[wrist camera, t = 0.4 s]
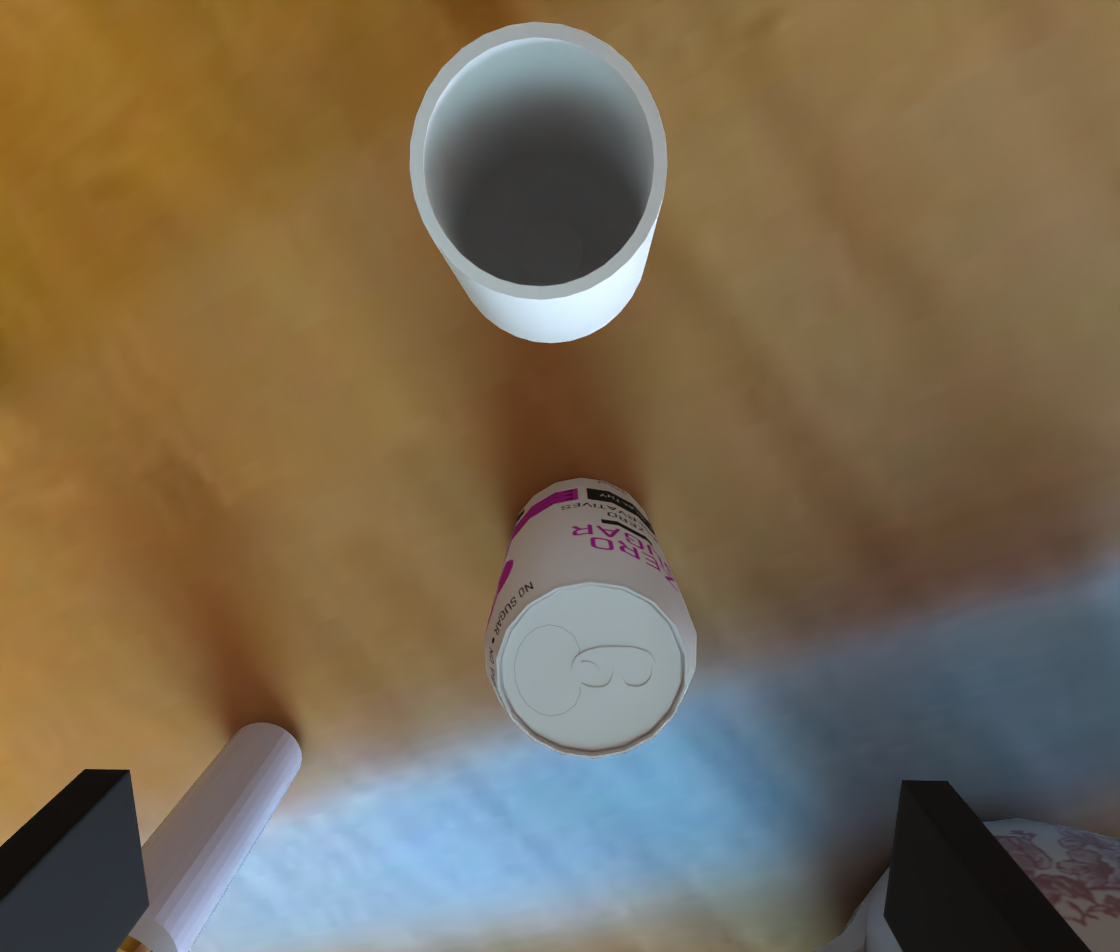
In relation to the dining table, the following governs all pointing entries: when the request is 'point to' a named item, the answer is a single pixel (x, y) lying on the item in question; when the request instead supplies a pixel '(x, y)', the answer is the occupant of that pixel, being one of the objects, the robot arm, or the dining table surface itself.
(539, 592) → the supplement can
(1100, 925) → the chamber pot
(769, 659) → the dining table surface
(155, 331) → the dining table surface
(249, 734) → the perfume bottle
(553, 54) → the champagne flute
